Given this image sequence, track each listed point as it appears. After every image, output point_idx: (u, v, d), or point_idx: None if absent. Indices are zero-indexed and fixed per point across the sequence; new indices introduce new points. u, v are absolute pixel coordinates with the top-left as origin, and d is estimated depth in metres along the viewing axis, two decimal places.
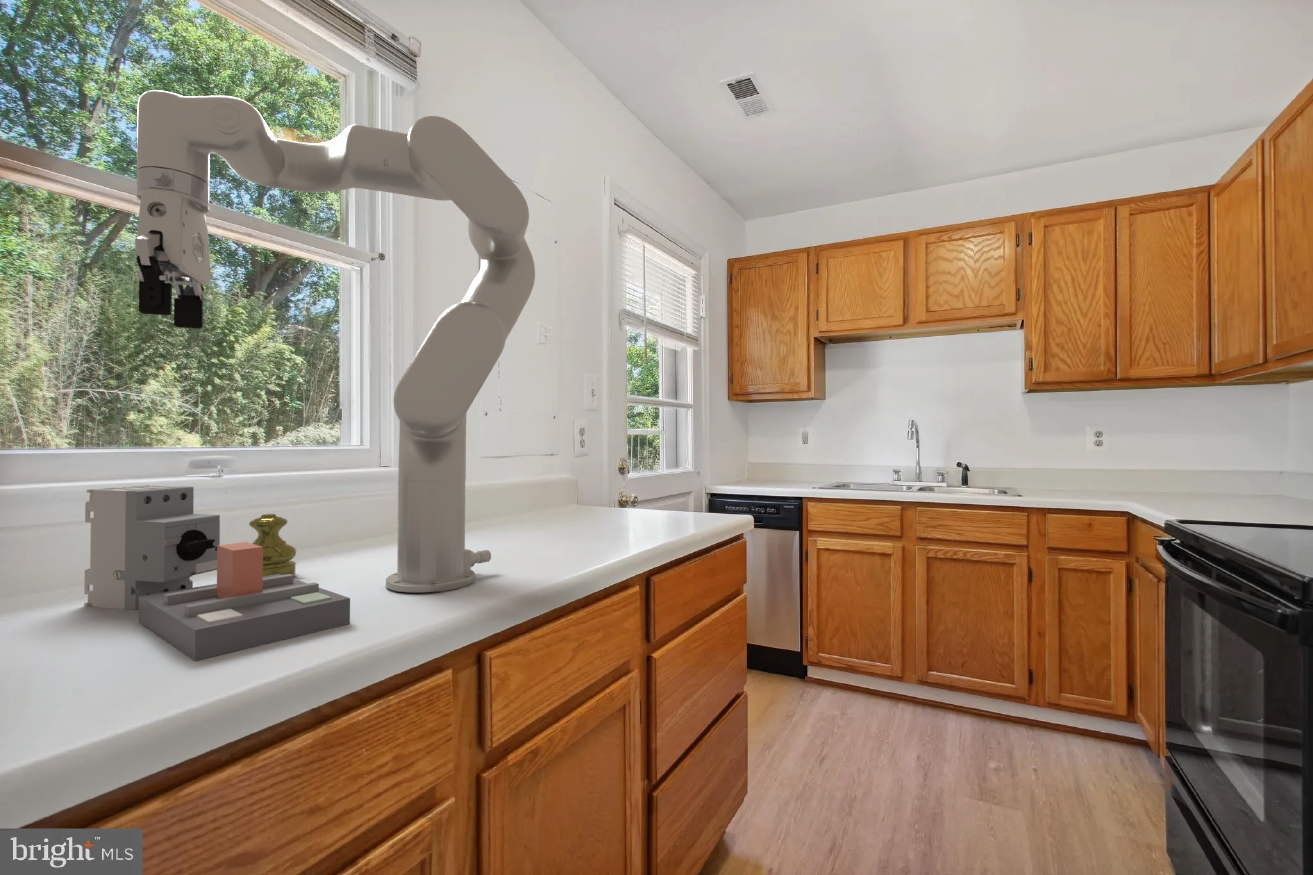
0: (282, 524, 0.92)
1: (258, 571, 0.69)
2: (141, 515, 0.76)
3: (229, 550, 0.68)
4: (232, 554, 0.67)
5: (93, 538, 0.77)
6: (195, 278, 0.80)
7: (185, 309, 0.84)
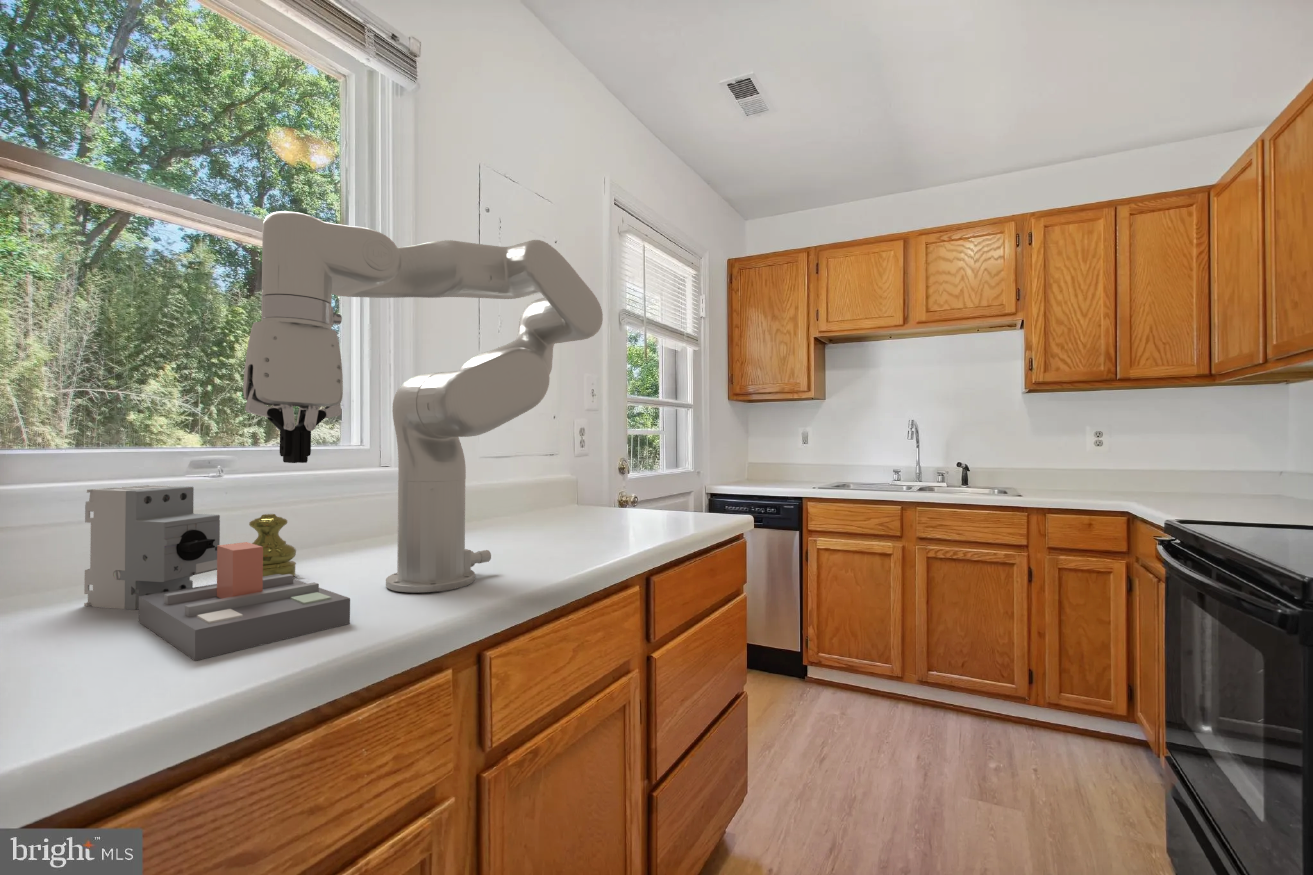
0: (282, 524, 0.92)
1: (258, 571, 0.69)
2: (141, 514, 0.76)
3: (229, 550, 0.68)
4: (232, 554, 0.67)
5: (93, 538, 0.77)
6: None
7: None
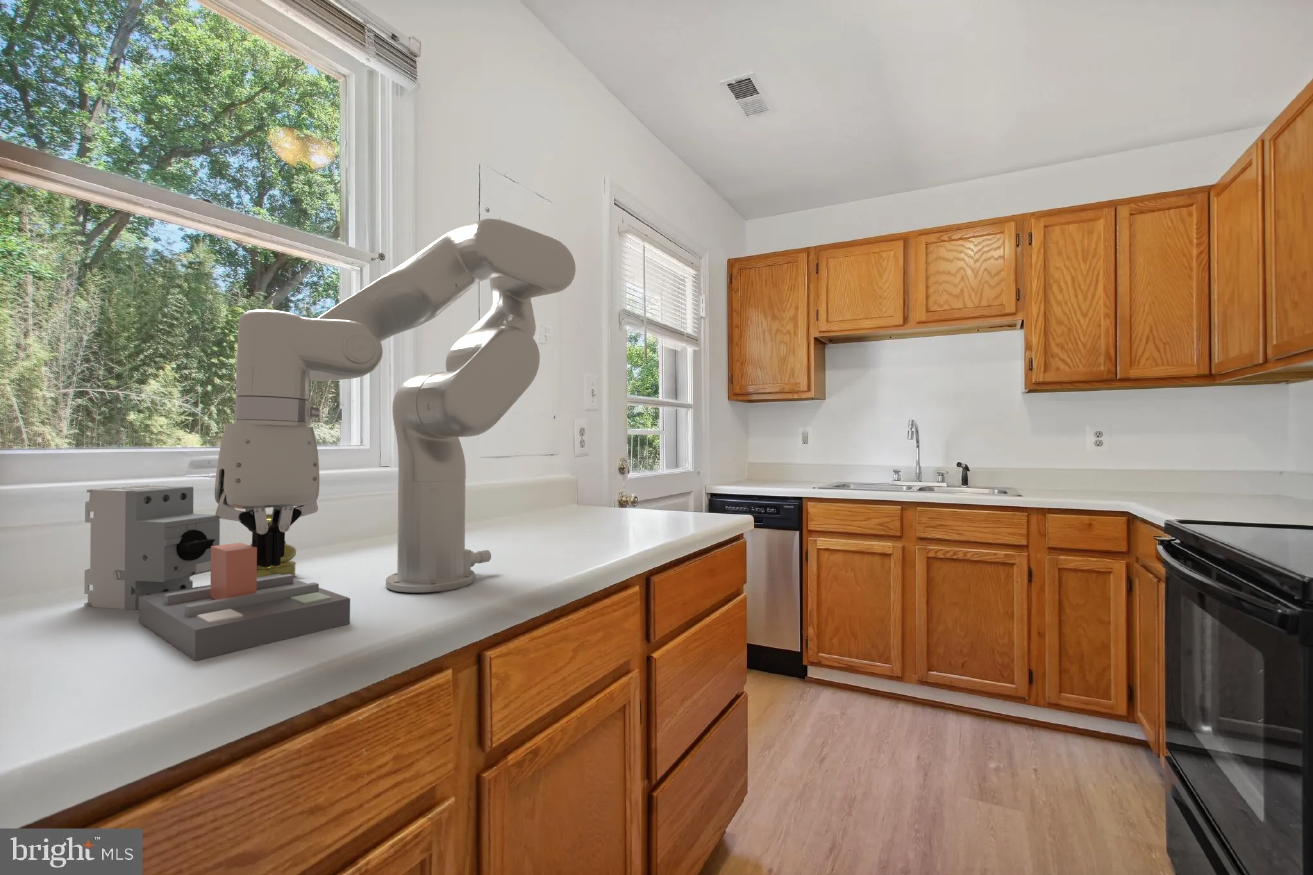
0: None
1: (252, 572, 0.69)
2: (141, 515, 0.76)
3: (222, 551, 0.67)
4: (226, 555, 0.67)
5: (93, 538, 0.77)
6: None
7: None
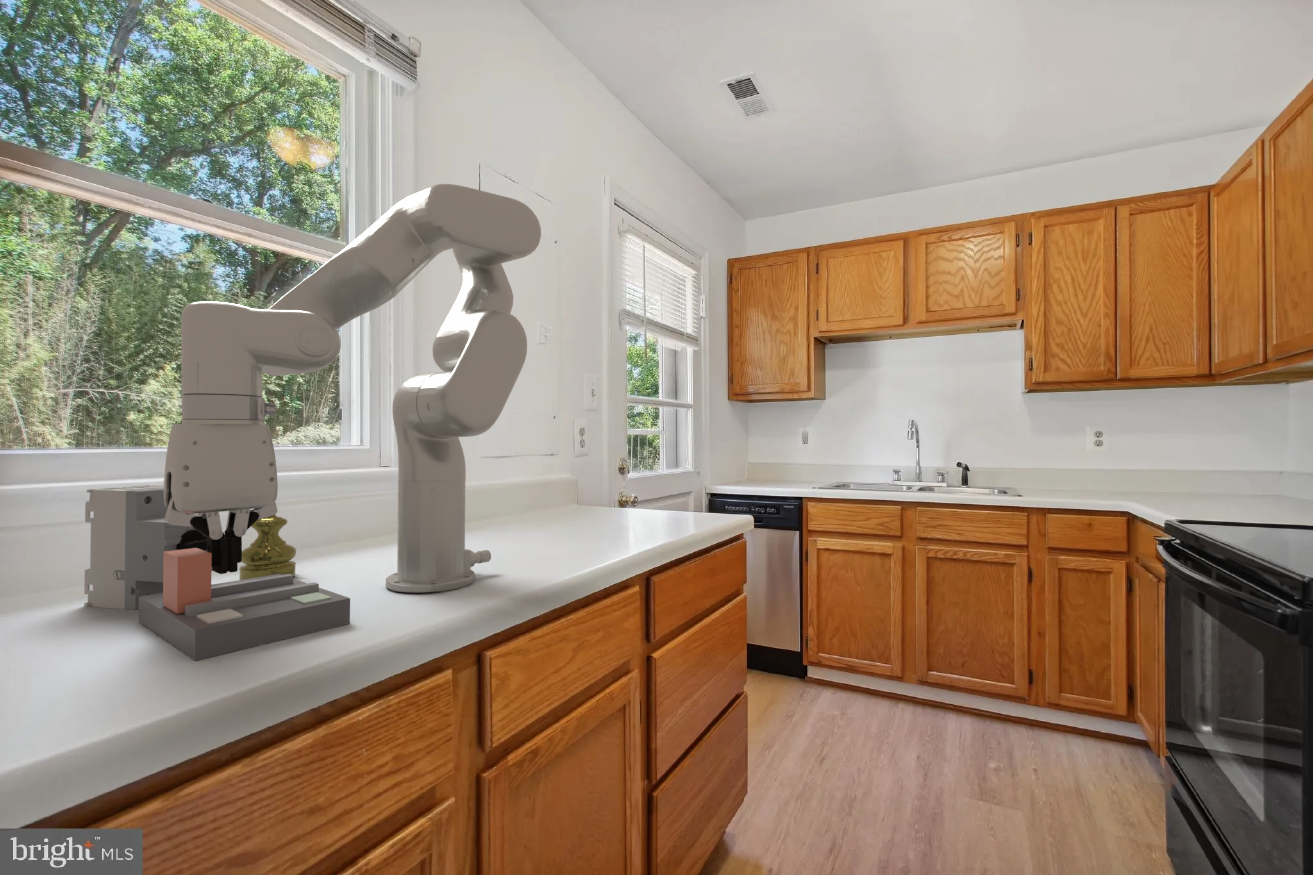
0: (282, 524, 0.92)
1: (206, 579, 0.65)
2: (141, 514, 0.76)
3: (174, 557, 0.64)
4: (177, 561, 0.63)
5: (93, 538, 0.77)
6: None
7: None
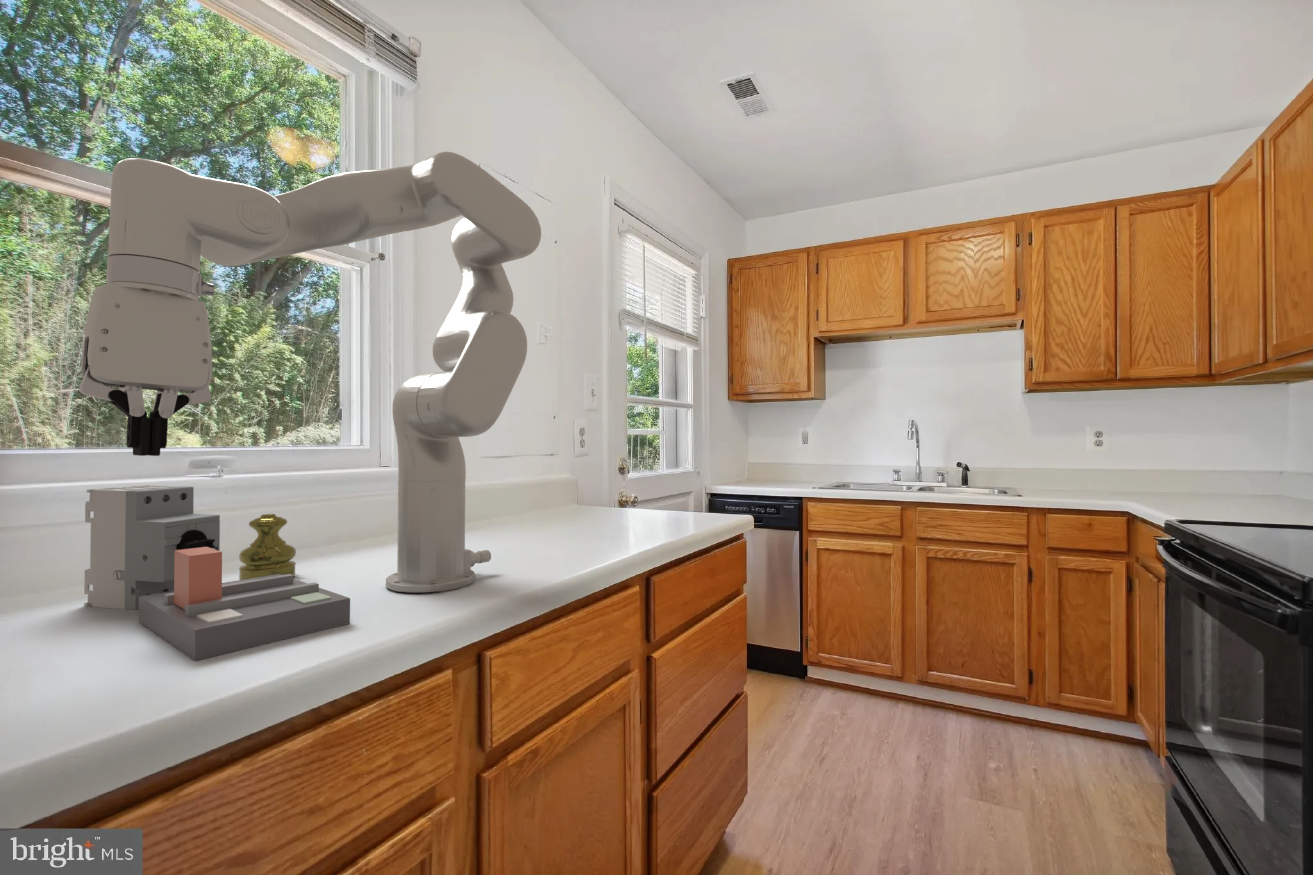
0: (282, 524, 0.92)
1: (217, 577, 0.66)
2: (141, 515, 0.76)
3: (185, 555, 0.65)
4: (188, 560, 0.64)
5: (93, 538, 0.77)
6: (142, 388, 0.65)
7: None
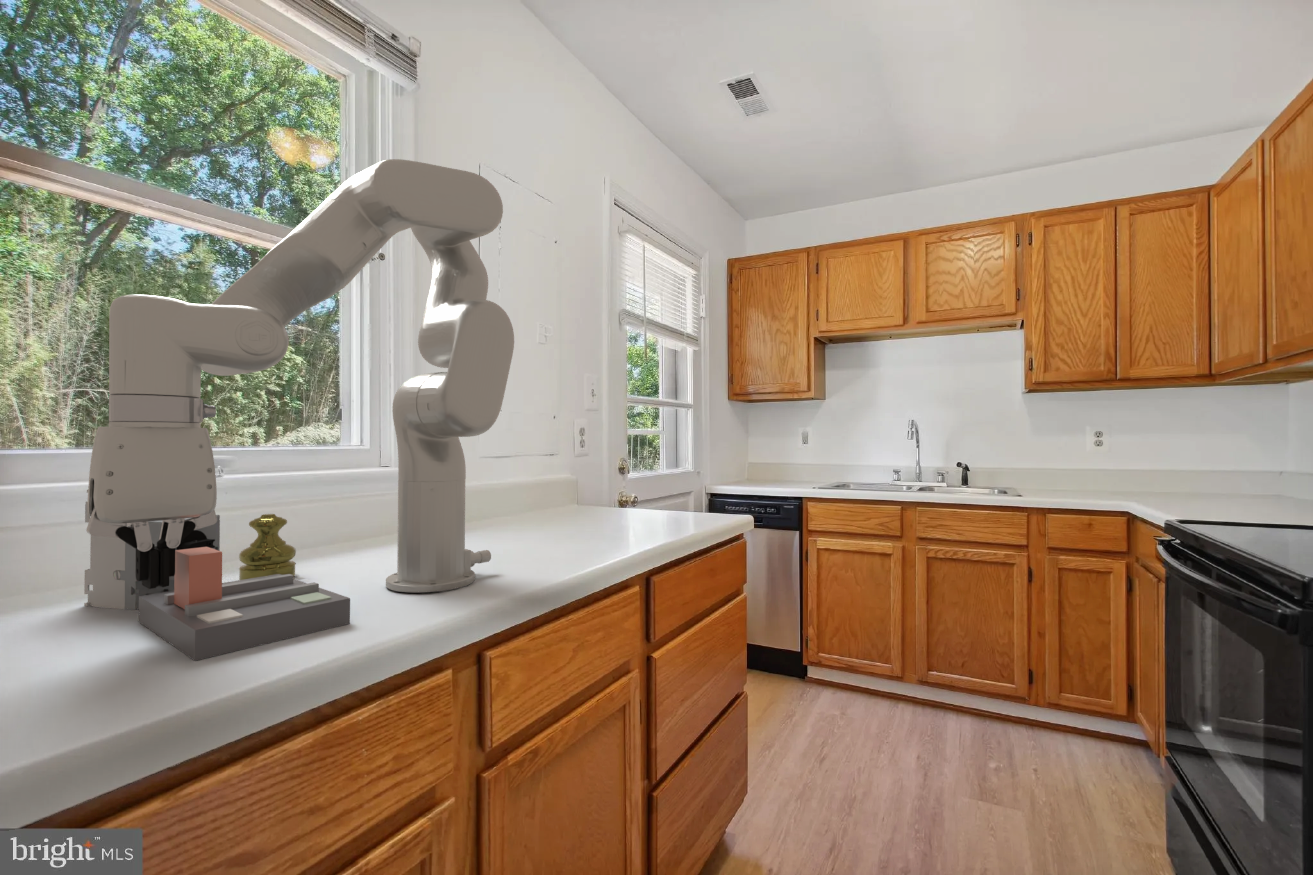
0: (282, 524, 0.92)
1: (217, 577, 0.66)
2: None
3: (186, 555, 0.65)
4: (189, 560, 0.64)
5: (93, 538, 0.77)
6: None
7: None
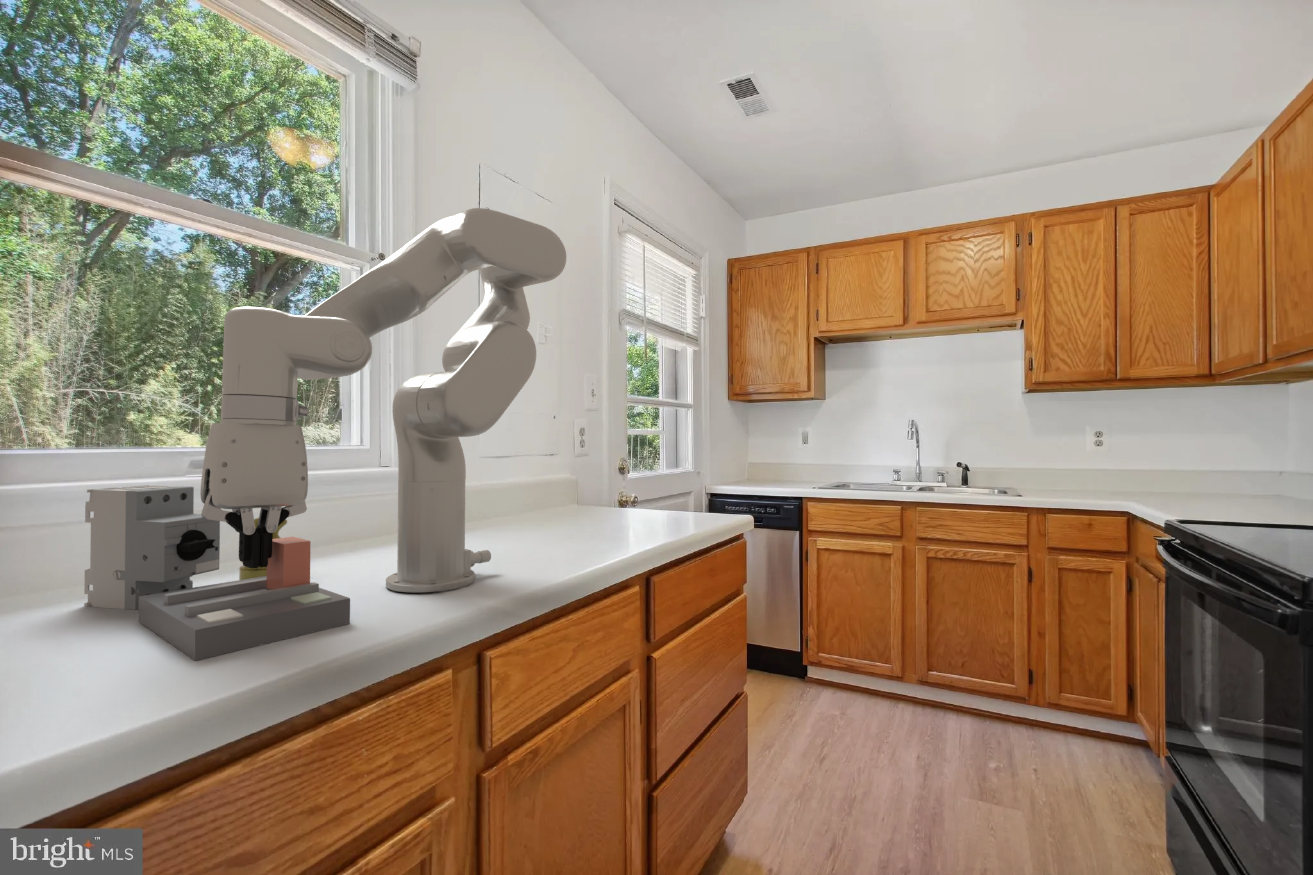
0: (282, 524, 0.92)
1: (306, 564, 0.74)
2: (141, 515, 0.76)
3: (280, 544, 0.72)
4: (283, 548, 0.72)
5: (93, 538, 0.77)
6: None
7: None
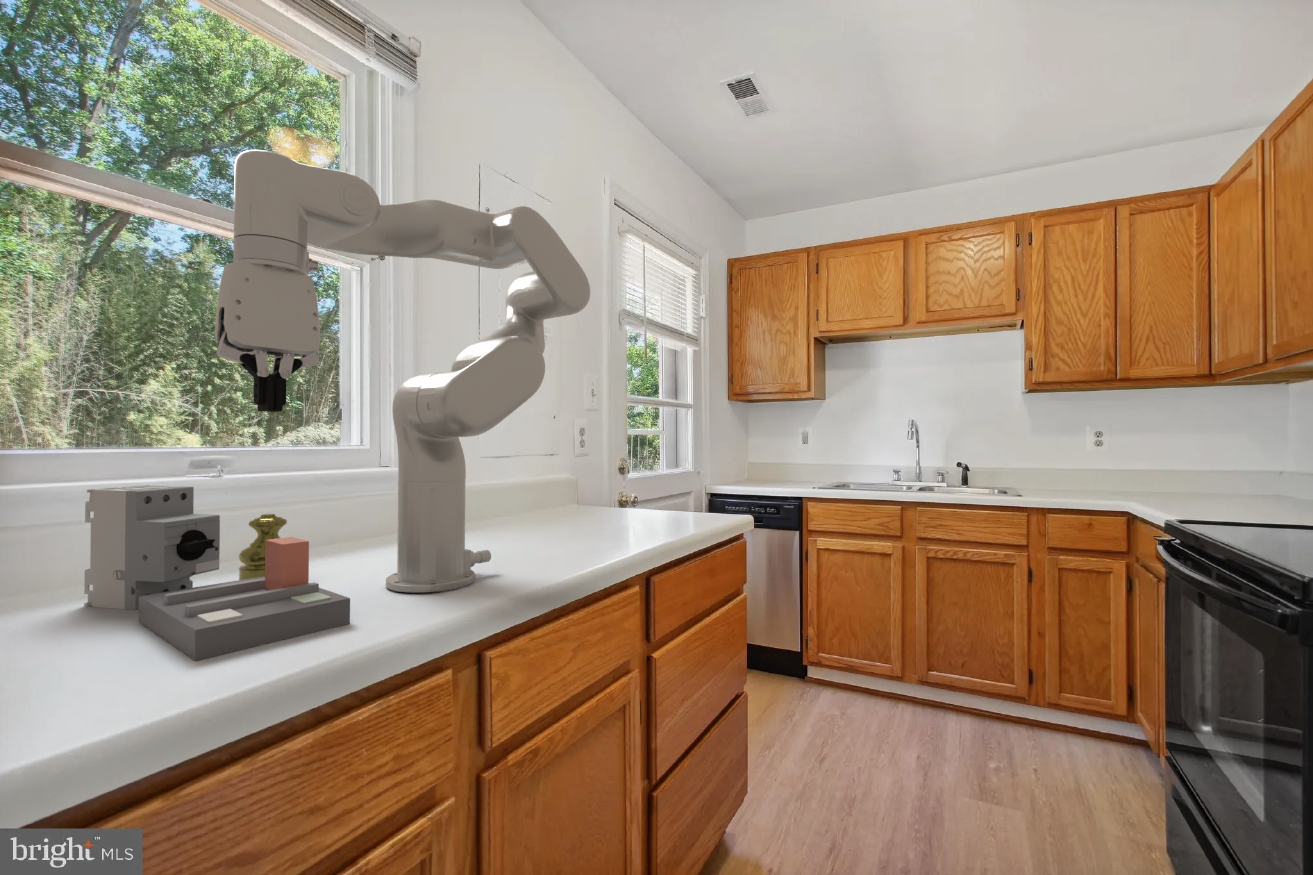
0: (282, 524, 0.92)
1: (304, 564, 0.73)
2: (141, 514, 0.76)
3: (278, 544, 0.72)
4: (281, 548, 0.71)
5: (93, 538, 0.77)
6: None
7: None
